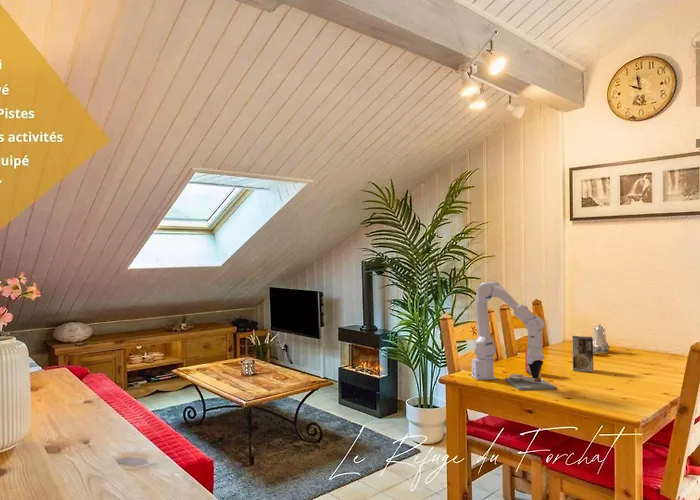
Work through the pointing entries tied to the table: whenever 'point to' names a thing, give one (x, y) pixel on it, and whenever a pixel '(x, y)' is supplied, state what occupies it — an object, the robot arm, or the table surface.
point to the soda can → (528, 365)
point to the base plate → (530, 384)
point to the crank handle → (525, 377)
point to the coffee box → (582, 353)
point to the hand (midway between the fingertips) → (535, 378)
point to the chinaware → (600, 340)
